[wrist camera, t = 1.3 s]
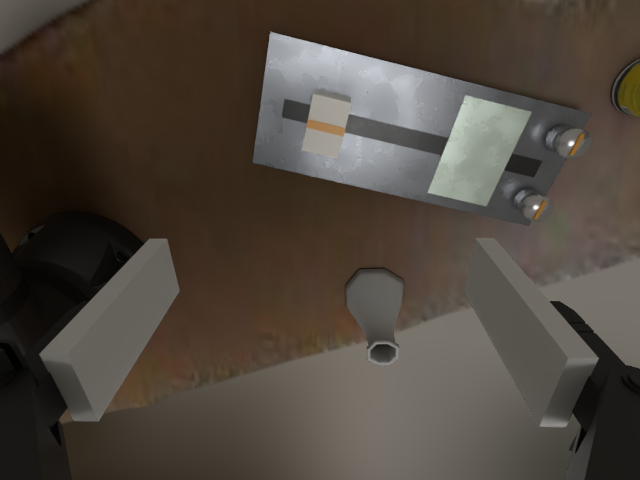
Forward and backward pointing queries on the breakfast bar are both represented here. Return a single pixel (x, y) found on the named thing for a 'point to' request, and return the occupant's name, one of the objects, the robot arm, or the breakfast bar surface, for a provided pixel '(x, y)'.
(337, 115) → the fader
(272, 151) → the console
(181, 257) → the breakfast bar surface
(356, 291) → the flask
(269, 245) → the breakfast bar surface
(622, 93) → the supplement bottle
